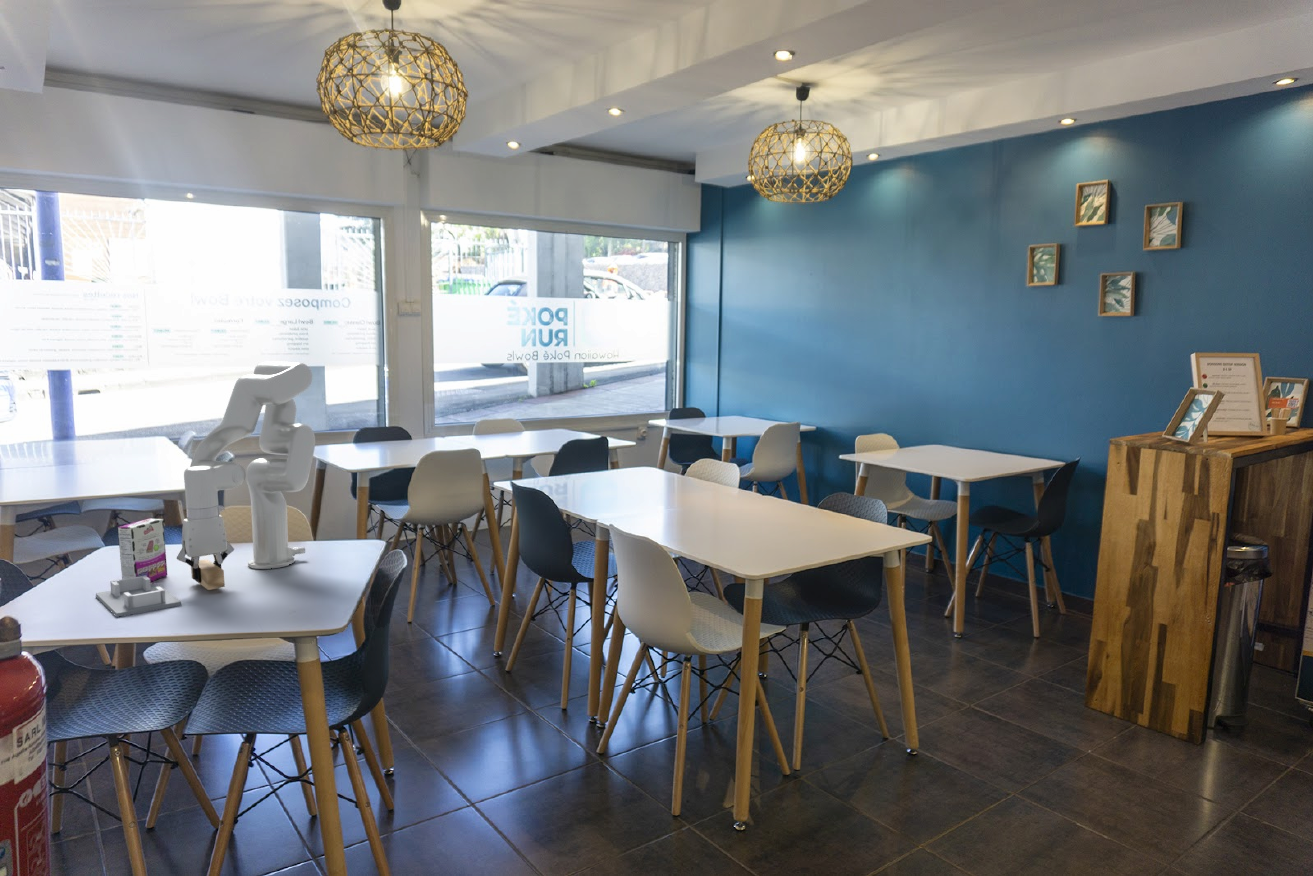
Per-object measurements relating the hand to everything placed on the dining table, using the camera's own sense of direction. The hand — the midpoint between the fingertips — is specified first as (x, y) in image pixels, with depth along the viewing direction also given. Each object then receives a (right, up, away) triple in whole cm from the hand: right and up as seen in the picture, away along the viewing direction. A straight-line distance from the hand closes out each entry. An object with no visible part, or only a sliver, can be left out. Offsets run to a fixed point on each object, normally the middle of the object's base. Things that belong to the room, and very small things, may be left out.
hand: (207, 579), depth 229 cm
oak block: (0, -1, 0) cm, 1 cm away
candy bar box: (-21, -2, +6) cm, 22 cm away
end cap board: (-12, -4, -11) cm, 17 cm away
